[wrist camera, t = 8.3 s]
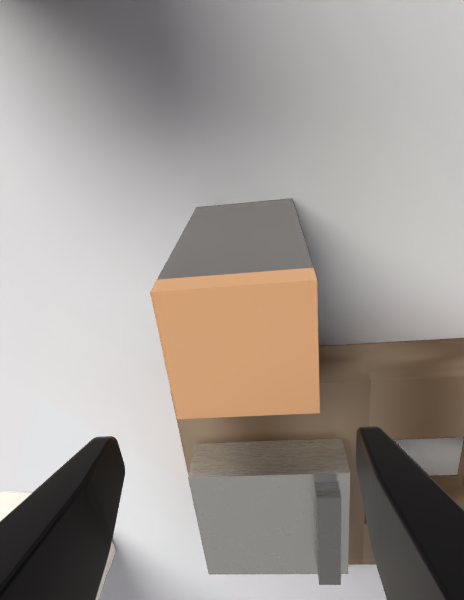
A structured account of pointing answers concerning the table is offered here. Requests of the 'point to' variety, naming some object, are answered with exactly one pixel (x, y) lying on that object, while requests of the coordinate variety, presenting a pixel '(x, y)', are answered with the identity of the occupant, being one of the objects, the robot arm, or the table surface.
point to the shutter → (273, 507)
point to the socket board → (364, 412)
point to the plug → (240, 314)
